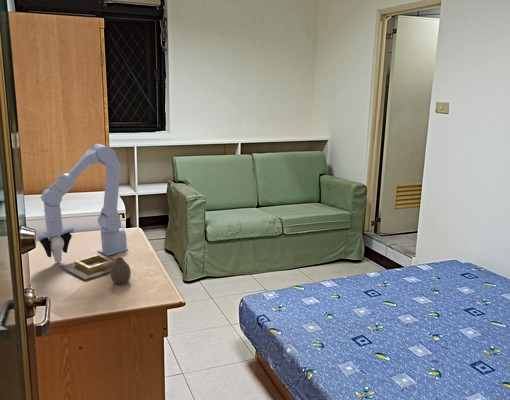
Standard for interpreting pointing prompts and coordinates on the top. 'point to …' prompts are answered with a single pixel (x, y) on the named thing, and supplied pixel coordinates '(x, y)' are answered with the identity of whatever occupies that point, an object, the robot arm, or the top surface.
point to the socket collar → (106, 261)
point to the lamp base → (83, 274)
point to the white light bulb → (57, 247)
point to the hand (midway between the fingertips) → (57, 254)
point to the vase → (120, 272)
